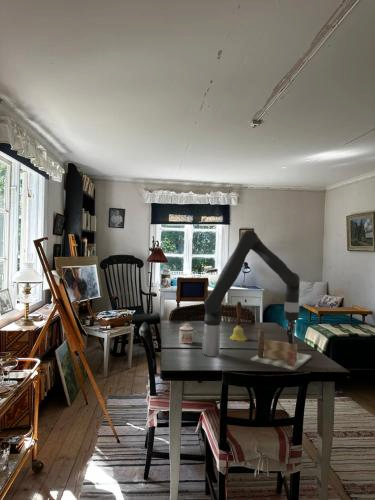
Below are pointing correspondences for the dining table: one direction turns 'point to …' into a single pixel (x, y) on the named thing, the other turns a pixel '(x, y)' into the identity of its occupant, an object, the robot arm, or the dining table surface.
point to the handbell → (238, 326)
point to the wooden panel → (279, 349)
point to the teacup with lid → (186, 334)
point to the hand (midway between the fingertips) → (291, 342)
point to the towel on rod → (287, 363)
